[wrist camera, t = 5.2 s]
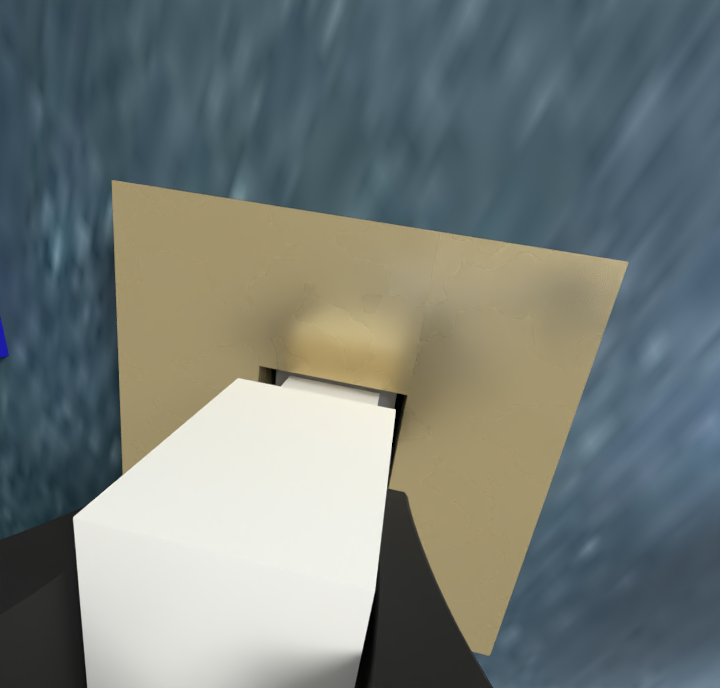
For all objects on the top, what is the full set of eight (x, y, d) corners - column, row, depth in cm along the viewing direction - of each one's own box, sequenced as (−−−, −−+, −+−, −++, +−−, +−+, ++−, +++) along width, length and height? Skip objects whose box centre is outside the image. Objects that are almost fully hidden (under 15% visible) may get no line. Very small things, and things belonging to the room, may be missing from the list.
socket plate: (587, 255, 12) (645, 264, 9) (479, 594, 16) (494, 680, 13) (165, 188, 14) (89, 176, 10) (165, 519, 18) (111, 582, 15)
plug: (400, 367, 12) (374, 590, 5) (375, 499, 14) (324, 827, 6) (277, 344, 13) (72, 516, 5) (265, 475, 14) (93, 758, 7)
